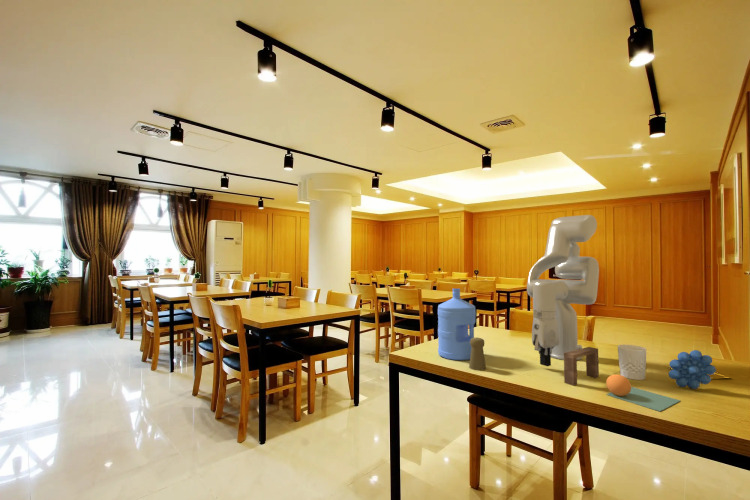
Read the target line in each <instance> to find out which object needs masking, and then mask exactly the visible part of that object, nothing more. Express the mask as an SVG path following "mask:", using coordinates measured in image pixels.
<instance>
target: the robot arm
mask: <svg viewBox="0 0 750 500" xmlns="http://www.w3.org/2000/svg"><path fill="white" fill-rule="evenodd" d="M597 227H598V222H597V219H596V218H595V216H593V215H592V214H584V215H583V214H582V215H571V216H561V217H557V218H555V219H553V220H552V221H551V224H550V227H549V228H548V229H549V230H548V233H547V239H546V245H545V251H544V255H543V256H542V257H541V258H540V259H538V260H537V261H536V262H535V263H534V264H533V266H532V267H531V269H529V272H528V277H527V283H526V292H527V295H528V296H529V297H530V298H532V317H533V320H532V328H531V343H532V345H533V346H534V351H537V352H538V354H539V364H540V365H541V366H544V367H550V366H552V360H551V359H552V358H554V359H558V360H563V361H564V353H565V352H569V351H573V350H578V349H582V348H583V346H582V345H581V344H578V315H577V312H576V310H575V309H574V308H573V306H572V305H573V304H575V305H576V304H577V305H593V304H595V302H596V301H597V298H598V297H597V296H598V290H599V289H598V287H599V278H600V277H599V276H600V267H599V266H600V265H599V262H598V260H597V259H596V258H595V257H592V256H580V252H581V247H580V245H579V244H578V243H586V242H588V241H589V240H590V239H591V238H592V237H593V235H594V234H595V233H596V231H597ZM552 268H554V273H555V276H557V278H559V279H540V277H541V275H542V274H544V272H546V271H547V270H549V269H552ZM571 304H572V305H571ZM582 359H583V356H582V357H578V358H577V361H580V360H582Z"/></svg>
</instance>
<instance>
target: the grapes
mask: <svg viewBox="0 0 750 500" xmlns="http://www.w3.org/2000/svg"><path fill="white" fill-rule="evenodd" d="M712 363H713V358H712V356H710V355H708V354H706V355H705V354H704V355H703V354H702V352H701V351H700V350H697V349H696V350H695V349H693V350H691V351H690V352H686V351H681V352H679V353H678V354H677V359H672V360H671V361H670V362H669V367H671V368H672V369H673V370H672V369H670V370H669V372H668V376H669V378H670V379H672V380H675V384H676V386H677V387H680V388H684V387H685V388H686V386H687V387H688V388H689V389H691V388H692V389H693V390H696V389H699V388H700V385H707V384H709V383H710V382H711V380H712V379H711V378H712V377H711V375H715V374H714V373H715V372H717V368H716V366H715V365H714V364H712ZM707 374H708V375H707Z"/></svg>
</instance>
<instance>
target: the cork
mask: <svg viewBox="0 0 750 500" xmlns="http://www.w3.org/2000/svg"><path fill="white" fill-rule="evenodd" d="M470 345H471V347H472V348H471V356H470V359H469V364H468V365H469V367H468V368H469V369H471V370H473V371H485V370H486V369H487V367H486V366H487V365H486V360H485V353H484V352H485V351H484V346H485V340H484V339H483V338H482V337H481V338H480V337H474V338H472V339H471V340H470Z"/></svg>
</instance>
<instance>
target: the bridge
mask: <svg viewBox="0 0 750 500" xmlns="http://www.w3.org/2000/svg"><path fill="white" fill-rule="evenodd" d="M578 357H582V358H583V357H585V365H586V366H585V367H586V369H585V370H586V373H585V374H586V377H590V378H593V379H599V378H600V372H599V371H600V368H599V348H598V347H597V348H596V347H591V346H586V347H582V349H578V350H573V351H569V352H565V353H564V360H563V371H564V372H563V373H564V374H563V375H564V377H563V378H564V379H563V381H564V383H565V384H567V385H570V386H577V385H578V365H577V364H578V360H577V358H578Z"/></svg>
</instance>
